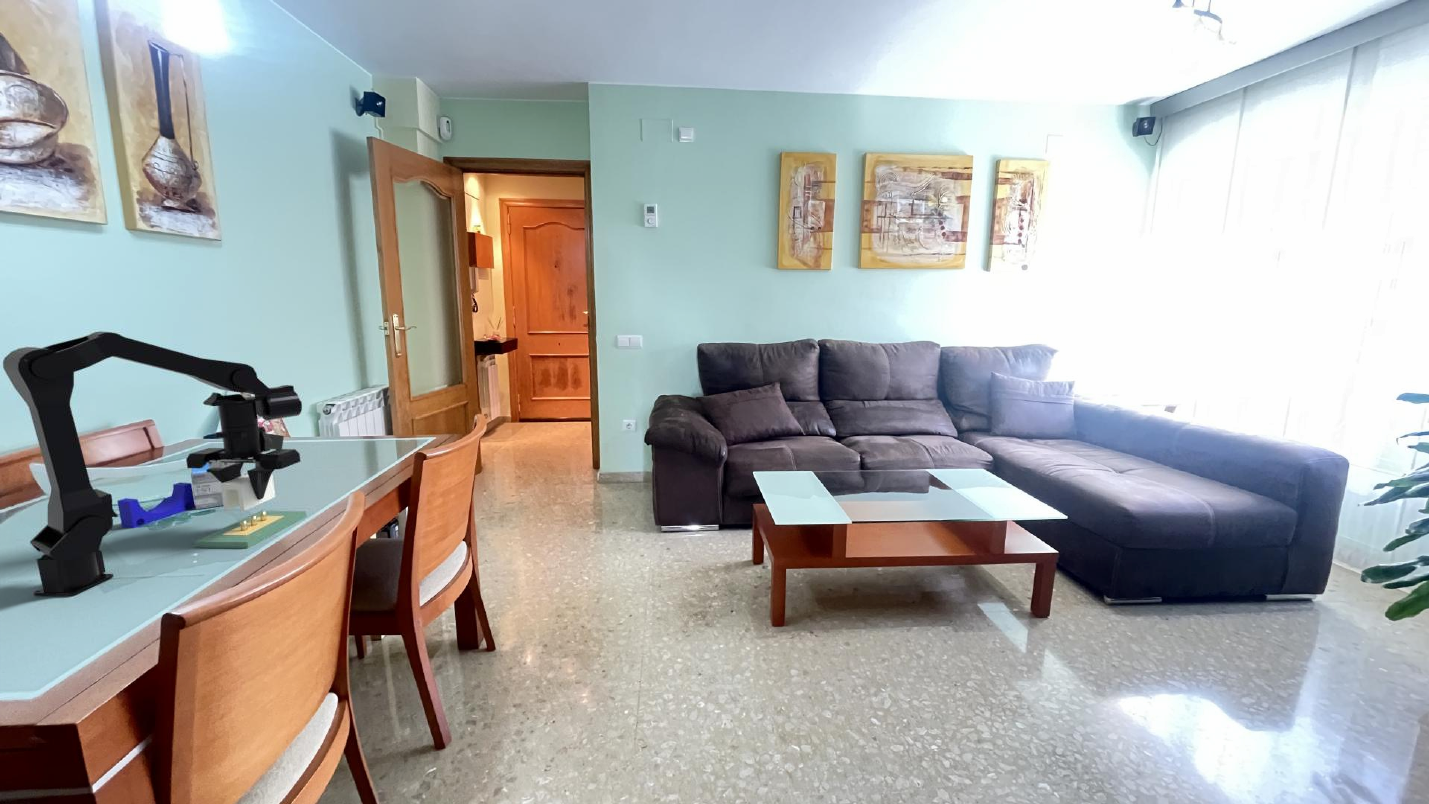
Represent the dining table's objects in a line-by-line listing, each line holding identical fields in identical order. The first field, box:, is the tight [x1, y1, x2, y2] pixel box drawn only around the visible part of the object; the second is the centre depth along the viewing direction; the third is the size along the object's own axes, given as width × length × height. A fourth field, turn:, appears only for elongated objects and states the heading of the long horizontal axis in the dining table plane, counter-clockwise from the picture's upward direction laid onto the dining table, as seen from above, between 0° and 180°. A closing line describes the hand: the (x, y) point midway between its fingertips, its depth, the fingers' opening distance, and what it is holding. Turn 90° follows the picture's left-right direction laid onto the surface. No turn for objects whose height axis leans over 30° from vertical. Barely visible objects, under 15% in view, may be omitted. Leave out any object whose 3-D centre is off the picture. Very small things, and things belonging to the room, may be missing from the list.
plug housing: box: [220, 473, 276, 512], centre depth 114 cm, size 8×4×6 cm, turn 1°
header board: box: [194, 510, 308, 549], centre depth 116 cm, size 16×10×3 cm, turn 1°
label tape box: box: [190, 462, 245, 510], centre depth 129 cm, size 9×4×12 cm, turn 123°
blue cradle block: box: [116, 482, 196, 529], centre depth 122 cm, size 12×4×6 cm, turn 171°
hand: (249, 498), depth 114 cm, fingers closed on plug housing, 4 cm apart
